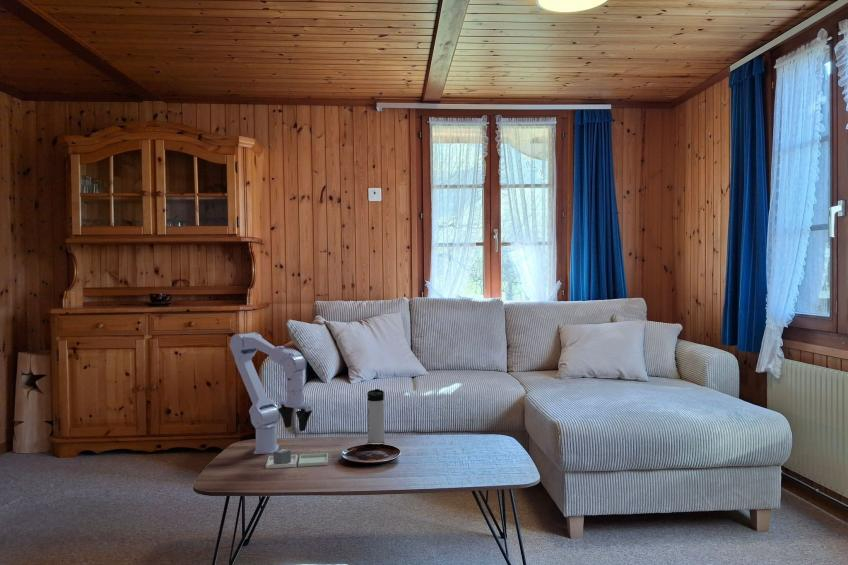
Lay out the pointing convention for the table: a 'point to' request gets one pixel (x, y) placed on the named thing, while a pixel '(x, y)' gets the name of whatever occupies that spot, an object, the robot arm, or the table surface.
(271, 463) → the tray
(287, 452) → the letter cube
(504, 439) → the table surface
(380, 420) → the travel mug
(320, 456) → the tray
